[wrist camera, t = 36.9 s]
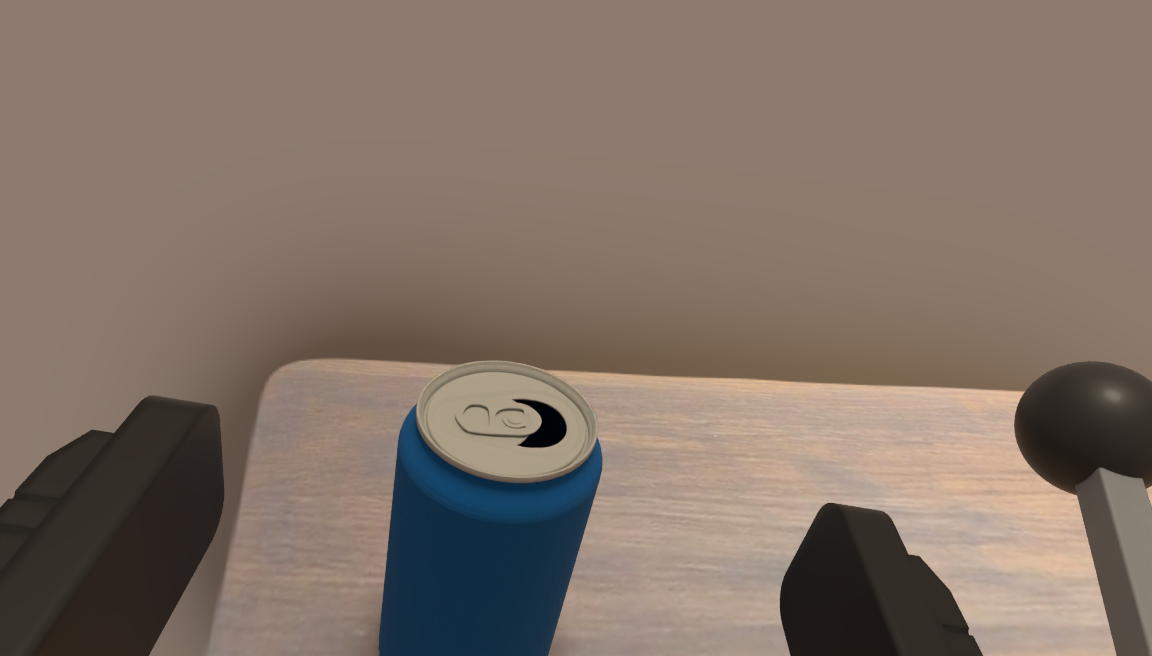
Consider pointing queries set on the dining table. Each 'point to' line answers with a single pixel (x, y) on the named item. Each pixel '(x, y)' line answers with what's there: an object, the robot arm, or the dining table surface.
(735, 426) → the dining table surface
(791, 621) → the robot arm
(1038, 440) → the press lever
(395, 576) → the beverage can
